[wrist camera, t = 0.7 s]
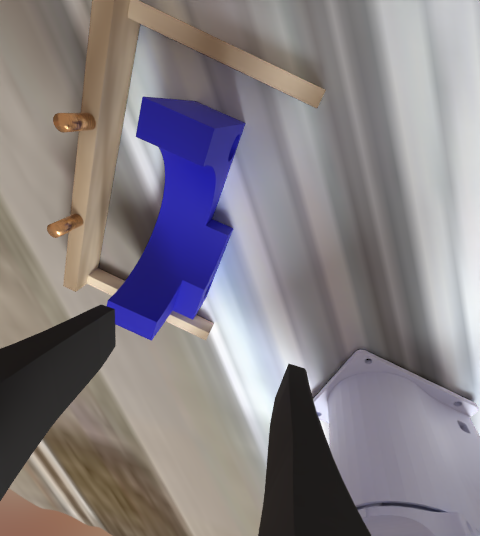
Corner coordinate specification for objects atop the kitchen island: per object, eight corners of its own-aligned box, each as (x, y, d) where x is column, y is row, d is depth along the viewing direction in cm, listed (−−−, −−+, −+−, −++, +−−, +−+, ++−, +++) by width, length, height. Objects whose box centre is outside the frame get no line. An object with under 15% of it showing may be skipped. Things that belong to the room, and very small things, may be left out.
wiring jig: (324, 91, 15) (328, 84, 11) (210, 330, 24) (190, 372, 20) (125, -4, 15) (60, -44, 11) (85, 270, 24) (41, 301, 20)
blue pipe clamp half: (207, 295, 22) (174, 351, 17) (152, 271, 23) (104, 319, 17) (270, 134, 16) (251, 144, 11) (196, 101, 16) (142, 96, 11)
